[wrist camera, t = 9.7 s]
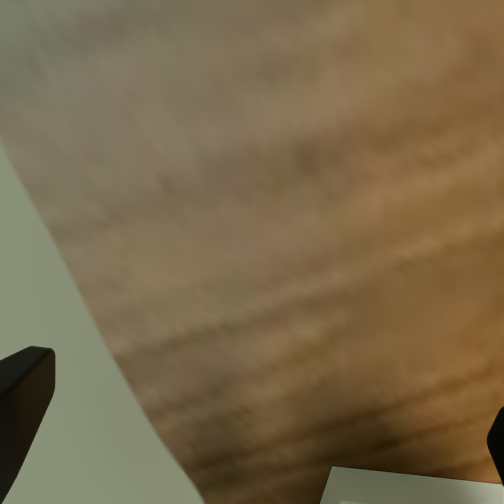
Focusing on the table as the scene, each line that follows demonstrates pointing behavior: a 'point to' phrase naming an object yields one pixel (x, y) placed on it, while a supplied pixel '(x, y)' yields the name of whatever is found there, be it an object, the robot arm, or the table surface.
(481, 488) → the pedestal
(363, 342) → the table surface
